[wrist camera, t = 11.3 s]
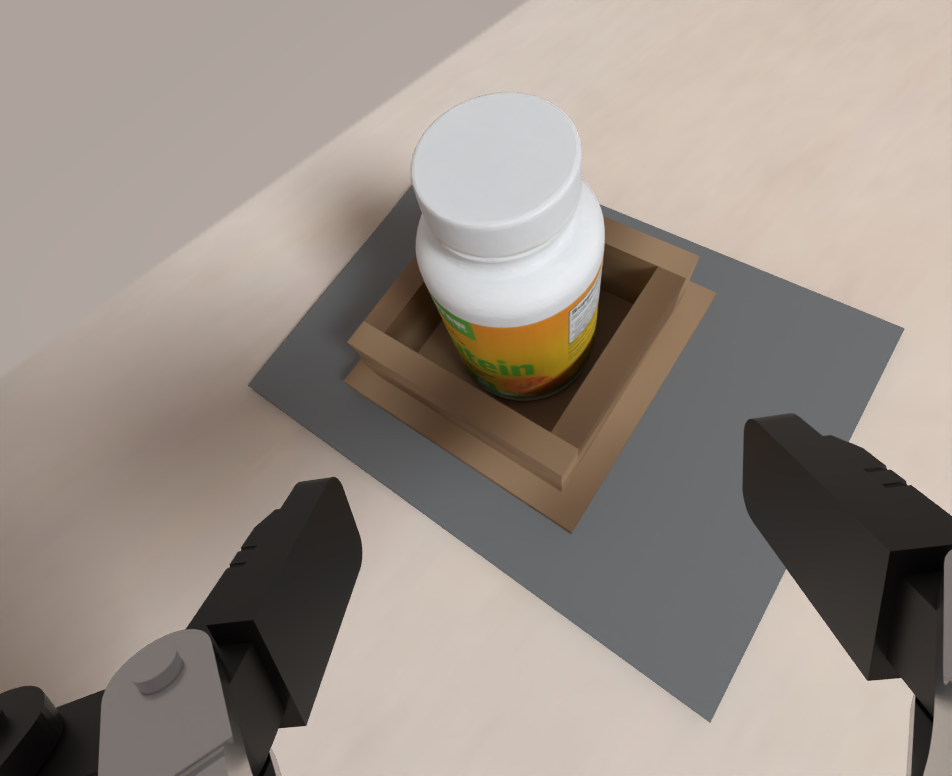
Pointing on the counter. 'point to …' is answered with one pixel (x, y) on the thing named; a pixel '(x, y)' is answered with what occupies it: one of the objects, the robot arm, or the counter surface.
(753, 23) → the counter surface
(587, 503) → the holder
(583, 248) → the supplement bottle
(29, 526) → the counter surface
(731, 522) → the mat
